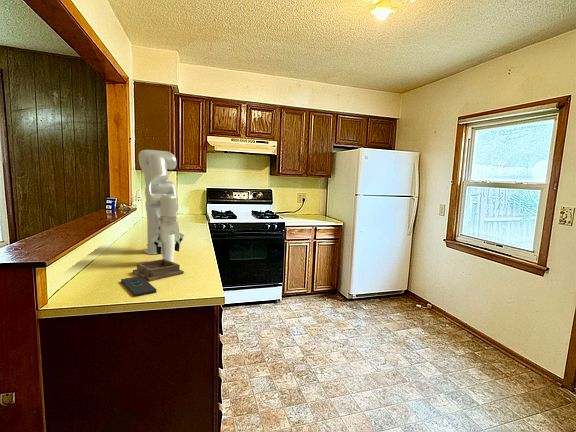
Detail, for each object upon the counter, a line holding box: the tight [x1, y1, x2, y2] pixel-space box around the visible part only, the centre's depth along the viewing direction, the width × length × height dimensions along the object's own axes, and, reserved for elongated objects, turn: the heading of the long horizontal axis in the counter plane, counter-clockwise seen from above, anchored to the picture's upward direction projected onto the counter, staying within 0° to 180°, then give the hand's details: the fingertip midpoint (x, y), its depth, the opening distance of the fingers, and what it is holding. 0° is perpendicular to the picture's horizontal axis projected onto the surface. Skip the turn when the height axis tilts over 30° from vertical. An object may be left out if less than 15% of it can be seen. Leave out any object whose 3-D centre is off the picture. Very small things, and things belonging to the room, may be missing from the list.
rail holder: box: [132, 258, 185, 282], centre depth 141 cm, size 16×16×4 cm
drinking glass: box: [161, 235, 176, 263], centre depth 157 cm, size 7×7×15 cm
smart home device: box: [120, 275, 157, 298], centre depth 123 cm, size 8×2×20 cm
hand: (168, 252), depth 158 cm, fingers open, 9 cm apart
